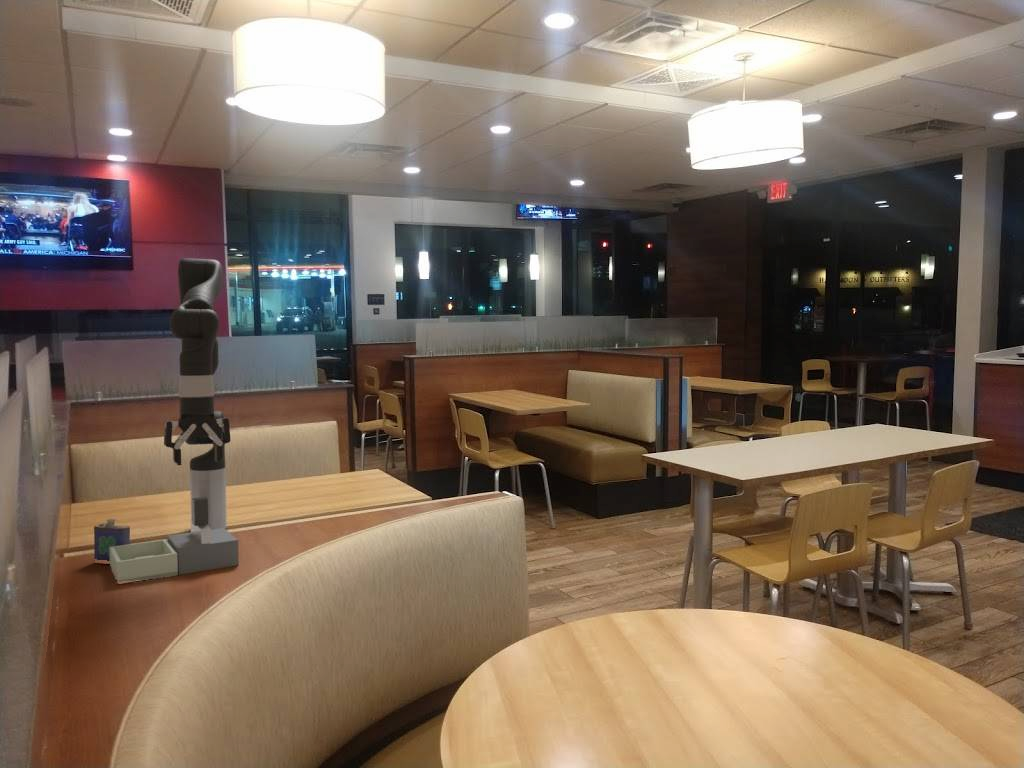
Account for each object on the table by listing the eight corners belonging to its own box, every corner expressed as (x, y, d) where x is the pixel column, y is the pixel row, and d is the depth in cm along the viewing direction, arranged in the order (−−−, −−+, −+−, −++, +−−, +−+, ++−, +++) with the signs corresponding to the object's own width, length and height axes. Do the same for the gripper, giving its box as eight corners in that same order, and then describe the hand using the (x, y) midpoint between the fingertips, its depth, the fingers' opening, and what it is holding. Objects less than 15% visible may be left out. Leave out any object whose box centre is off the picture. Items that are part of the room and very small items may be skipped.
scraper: (188, 534, 180) (187, 495, 180) (201, 532, 182) (200, 493, 182) (199, 544, 170) (198, 503, 170) (213, 543, 172) (212, 502, 172)
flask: (133, 562, 177) (131, 518, 177) (124, 566, 175) (122, 521, 174) (99, 560, 179) (98, 516, 179) (90, 564, 176) (88, 519, 176)
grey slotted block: (168, 560, 180) (167, 535, 179) (224, 551, 187) (224, 528, 186) (178, 574, 168) (178, 548, 168) (238, 565, 175) (238, 539, 175)
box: (110, 568, 173) (109, 546, 173) (166, 559, 180) (165, 539, 180) (117, 585, 161) (117, 562, 160) (177, 575, 167) (177, 553, 167)
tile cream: (153, 554, 176) (153, 559, 176) (134, 557, 174) (135, 562, 174) (156, 558, 173) (156, 563, 173) (137, 561, 171) (137, 566, 171)
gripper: (224, 392, 182) (226, 458, 183) (160, 394, 174) (162, 463, 175) (232, 394, 176) (233, 462, 177) (166, 396, 168) (168, 468, 169)
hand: (198, 463), depth 176 cm, fingers open, 8 cm apart
